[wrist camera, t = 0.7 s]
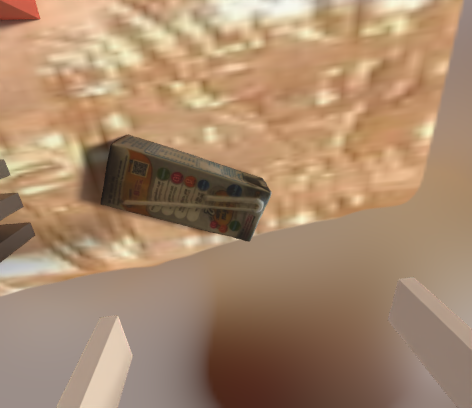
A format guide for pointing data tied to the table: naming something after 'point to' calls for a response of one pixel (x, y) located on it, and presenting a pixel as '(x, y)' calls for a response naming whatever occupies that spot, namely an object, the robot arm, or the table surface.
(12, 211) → the domino
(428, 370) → the robot arm
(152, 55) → the table surface
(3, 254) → the domino
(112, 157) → the beverage carton
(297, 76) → the table surface
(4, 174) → the domino
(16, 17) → the domino red
